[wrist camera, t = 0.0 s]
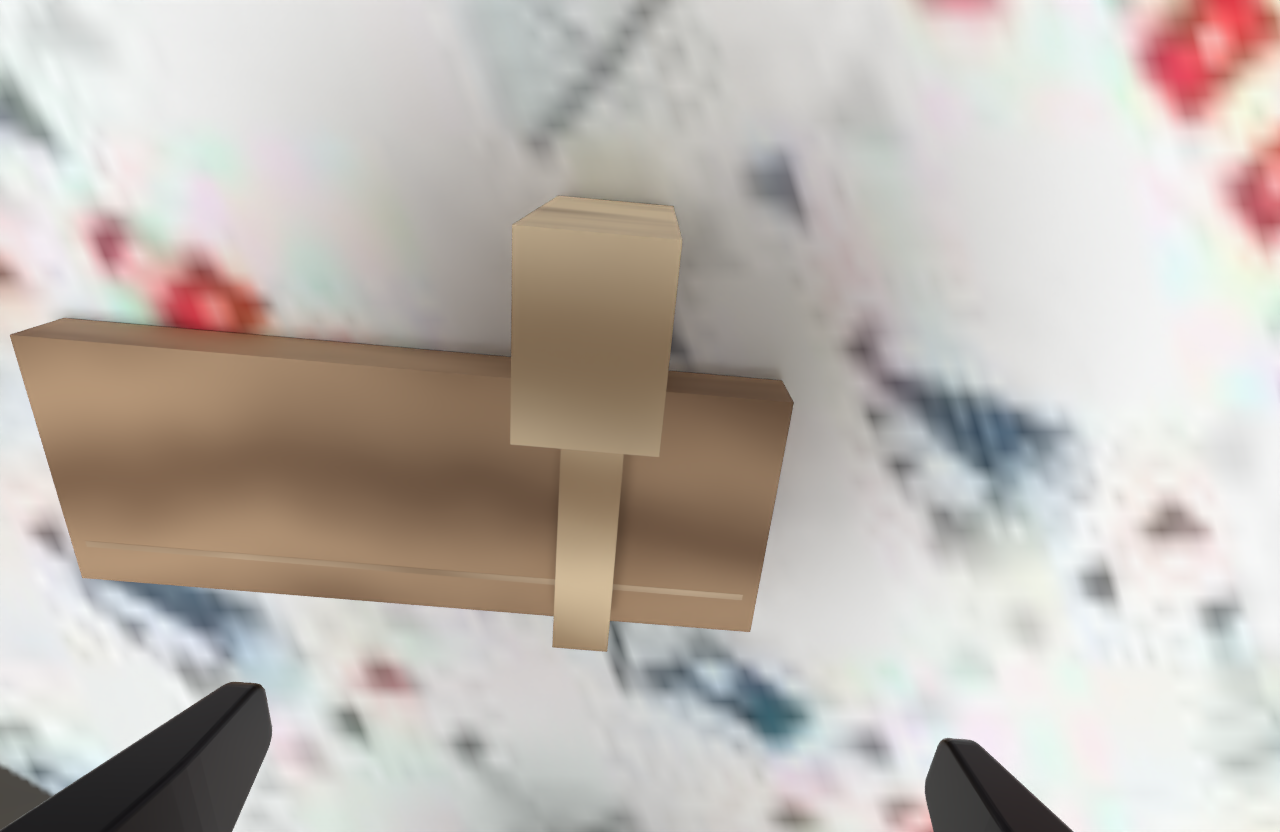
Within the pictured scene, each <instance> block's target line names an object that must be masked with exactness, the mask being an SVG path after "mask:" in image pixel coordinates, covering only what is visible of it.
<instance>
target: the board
mask: <svg viewBox="0 0 1280 832" xmlns="http://www.w3.org/2000/svg"><path fill="white" fill-rule="evenodd" d="M10 337H11V341H12V344H13V348H14V351H15V354H16V358H17V361H18V364H19V368H20V371H21V374H22V378H23V381H24V384H25V388H26V391H27V394H28V398H29V401H30V404H31V408H32V411H33V414H34V418H35V421H36V424H37V428H38V431H39V434H40V438H41V441H42V445H43V448H44V451H45V455H46V458H47V461H48V465H49V468H50V471H51V475H52V478H53V481H54V485H55V488H56V491H57V495H58V498H59V501H60V505H61V508H62V511H63V515H64V518H65V521H66V525H67V528H68V531H69V535H70V538H71V541H72V545H73V548H74V552H75V555H76V558H77V562H78V565H79V568H80V572H81V575H82V578H91V579H103V580H116V581H128V582H140V583H152V584H165V585H177V586H189V587H202V588H214V589H226V590H239V591H251V592H263V593H276V594H288V595H300V596H313V597H325V598H337V599H350V600H362V601H374V602H387V603H399V604H411V605H424V606H436V607H448V608H461V609H473V610H485V611H497V612H510V613H522V614H534V615H547V616H554V599H555V575H556V552H557V528H558V505H559V481H560V458H561V449H558V448H546V447H534V446H522V445H511V444H510V418H511V357H505V356H494V355H482V354H471V353H459V352H448V351H436V350H425V349H413V348H402V347H391V346H379V345H368V344H356V343H345V342H333V341H322V340H310V339H299V338H287V337H276V336H264V335H253V334H241V333H230V332H218V331H207V330H195V329H184V328H172V327H161V326H149V325H138V324H127V323H115V322H104V321H92V320H81V319H69V318H62V319H59V320H56V321H53V322H49V323H46V324H43V325H40V326H36V327H33V328H30V329H27V330H24V331H20V332H17V333H14V334H11V335H10ZM793 404H794V402H793V400H792V399H791V397H790V395H789V393H788V391H787V389H786V387H785V385H784V383H783V381H781V380H769V379H758V378H746V377H735V376H723V375H712V374H700V373H689V372H677V371H668V379H667V388H666V397H665V406H664V416H663V425H662V434H661V444H660V453H659V457H652V456H640V455H628V454H624V459H623V471H622V483H621V494H620V506H619V518H618V530H617V542H616V554H615V566H614V577H613V589H612V601H611V613H610V621H621V622H633V623H645V624H658V625H670V626H682V627H695V628H707V629H719V630H732V631H744V632H750V630H751V624H752V619H753V614H754V609H755V603H756V598H757V593H758V588H759V582H760V577H761V572H762V567H763V561H764V556H765V551H766V546H767V540H768V535H769V530H770V525H771V519H772V514H773V509H774V504H775V498H776V493H777V488H778V483H779V477H780V472H781V467H782V462H783V456H784V451H785V446H786V440H787V435H788V430H789V425H790V419H791V414H792V409H793Z"/></svg>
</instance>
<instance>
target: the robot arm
mask: <svg viewBox="0 0 1280 832" xmlns="http://www.w3.org/2000/svg"><path fill="white" fill-rule="evenodd" d="M271 737H272V725H271V719H270V714H269V708H268V703H267V697H266V692H265V689H264V688H263V687H262V686H261V685H260V684H256V683H244V682H230V683H227V684H225V685H223V686H221V687H220V688H218V689H217V690H215V691H214V692H212V693H211V694H209V695H208V696H206V697H204V698H203V699H201V700H200V701H198V702H197V703H195V704H194V705H192V706H191V707H189V708H188V709H186V710H184V711H183V712H181V713H180V714H178V715H177V716H175V717H174V718H172V719H171V720H169V721H168V722H166V723H164V724H163V725H161V726H160V727H158V728H157V729H155V730H154V731H152V732H151V733H149V734H148V735H146V736H144V737H143V738H141V739H140V740H138V741H137V742H135V743H134V744H132V745H131V746H129V747H128V748H126V749H124V750H123V751H121V752H120V753H118V754H117V755H115V756H114V757H112V758H111V759H109V760H108V761H106V762H104V763H103V764H101V765H100V766H98V767H97V768H95V769H94V770H92V771H91V772H89V773H88V774H86V775H84V776H83V777H81V778H80V779H78V780H77V781H75V782H74V783H72V784H71V785H69V786H68V787H66V788H64V789H63V790H61V791H60V792H58V793H57V794H55V795H54V796H52V797H51V798H49V799H48V800H46V801H44V802H43V803H42V804H40V805H38V806H37V807H35V808H34V809H32V810H31V811H29V812H28V813H26V814H24V815H23V816H21V817H20V818H18V819H17V820H15V821H14V822H12V823H11V824H9V825H8V826H6V827H4V828H3V829H1V830H0V832H232V831H233V828H234V826H235V824H236V822H237V819H238V817H239V815H240V812H241V810H242V808H243V806H244V803H245V801H246V799H247V796H248V794H249V792H250V789H251V787H252V785H253V783H254V780H255V778H256V776H257V773H258V771H259V769H260V767H261V764H262V762H263V760H264V757H265V755H266V753H267V751H268V748H269V745H270V742H271ZM925 796H926V802H927V806H928V810H929V814H930V818H931V822H932V826H933V830H934V832H1073V831H1072V830H1071V829H1070V828H1069V827H1068V826H1067V825H1066V824H1065V823H1064V822H1062V821H1061V820H1060V819H1059V818H1058V817H1057V816H1056V815H1055V814H1054V813H1053V812H1052V811H1051V810H1049V809H1048V808H1047V807H1046V806H1045V805H1044V804H1043V803H1042V802H1041V801H1040V800H1039V799H1038V798H1036V797H1035V796H1034V795H1033V794H1032V793H1031V792H1030V791H1029V790H1028V789H1027V788H1026V787H1025V786H1024V785H1022V784H1021V783H1020V782H1019V781H1018V780H1017V779H1016V778H1015V777H1014V776H1013V775H1012V774H1011V773H1009V772H1008V771H1007V770H1006V769H1005V768H1004V767H1003V766H1002V765H1001V764H1000V763H999V762H998V761H996V760H995V759H994V758H993V757H992V756H991V755H990V754H989V753H988V752H987V751H986V750H985V749H984V748H982V747H981V746H980V745H979V744H977V743H976V742H974V741H972V740H965V739H953V738H945V739H943V740H942V741H941V742H940V743H939V745H938V747H937V750H936V752H935V755H934V758H933V761H932V763H931V766H930V769H929V772H928V774H927V777H926V781H925Z"/></svg>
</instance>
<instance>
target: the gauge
mask: <svg viewBox="0 0 1280 832" xmlns="http://www.w3.org/2000/svg"><path fill="white" fill-rule="evenodd" d="M681 249H682V237H681V233H680V229H679V226H678V222H677V218H676V214H675V211H674V207H673V206H666V205H655V204H644V203H633V202H622V201H611V200H600V199H589V198H578V197H567V196H557V197H555V198H553V199H552V200H550V201H549V202H547V203H546V204H544V205H542V206H541V207H539V208H538V209H536V210H535V211H533V212H531V213H530V214H528V215H527V216H525V217H524V218H522V219H520V220H519V221H517V222H516V223H514V224H513V225H512V306H511V418H510V444H511V445H522V446H534V447H546V448H558V449H561V458H560V481H559V505H558V528H557V552H556V575H555V599H554V623H553V646H552V647H555V648H568V649H580V650H593V651H605V652H607V646H608V635H609V624H610V613H611V601H612V589H613V577H614V566H615V554H616V542H617V530H618V518H619V506H620V494H621V483H622V471H623V459H624V454H628V455H640V456H652V457H659V453H660V444H661V434H662V425H663V416H664V406H665V397H666V388H667V379H668V369H669V360H670V351H671V342H672V332H673V323H674V314H675V304H676V295H677V286H678V277H679V267H680V258H681Z"/></svg>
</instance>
